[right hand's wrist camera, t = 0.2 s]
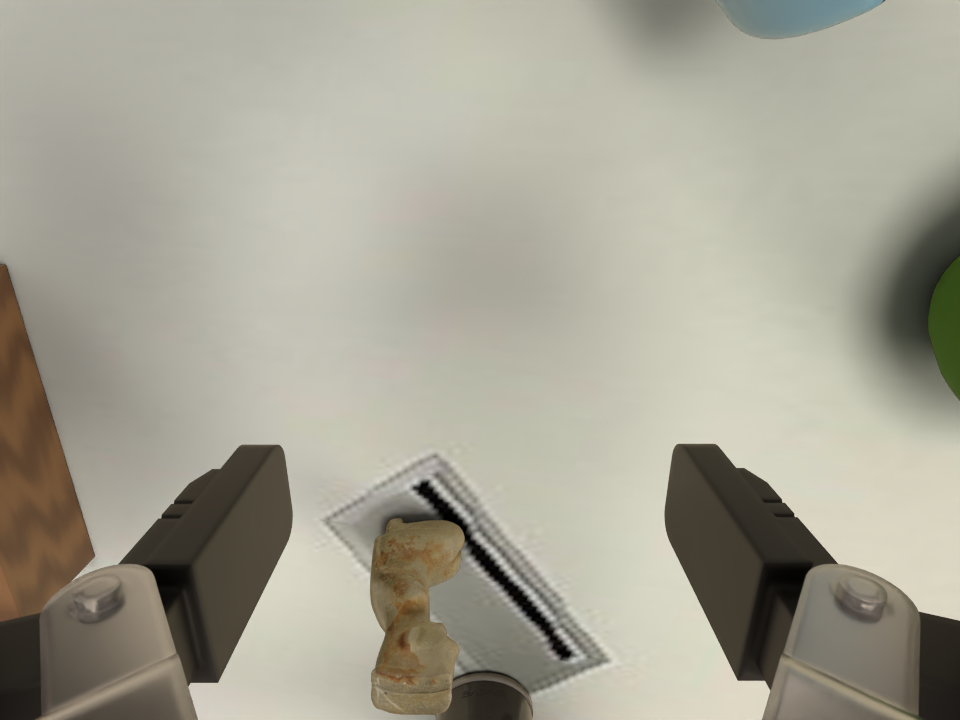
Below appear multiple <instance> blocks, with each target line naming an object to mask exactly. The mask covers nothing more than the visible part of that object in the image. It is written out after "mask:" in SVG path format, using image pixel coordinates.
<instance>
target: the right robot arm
mask: <svg viewBox="0 0 960 720" xmlns="http://www.w3.org/2000/svg"><path fill="white" fill-rule="evenodd" d="M292 517H293V514H292V504H291V497H290V490H289V482H288V475H287V468H286V461H285V455H284V451H283V449H282V447H281V446H280V445H241V446H239V447H238V448H237V449H236V451H235V452H234V453H233V454H232V456H231V457H230V458H229V459H228V460H227V462H226V463H225V464H224V465H223V466H222V468H221V469H212V470H210V471H209V472H207V473H206V474H204V475H202V476H201V477H199V478H198V479H196V480H194V481H193V482H191V483H190V484H189V485H188V486H187V487H186V488H185V489H184V490H183V491H182V493H181V494H180V495H179V496H178V497H177V498H176V499H175V501H174V504H171V505H170V506H169V507H168V508H167V510H166V511H165V512H164V513H163V514H162V518H161V519H158V520H157V521H156V522H155V523H154V524H153V525H152V527H151V528H150V529H149V530H148V531H147V532H146V533H145V535H144V536H143V537H142V538H141V539H140V540H139V541H138V543H137V544H136V545H135V546H134V547H133V548H132V549H131V550H130V552H129V553H128V554H127V555H126V556H125V557H124V558H123V560H122V561H121V562H120V563H119V564H118V565H113V566H108V567H104V568H101V569H98V570H95V571H92V572H90V573H87V574H85V575H83V576H81V577H79V578H77V579H75V580H74V581H72V582H70V583H69V584H67V585H66V586H64V587H63V588H62V589H60V590H59V591H58V592H57V593H56V594H54V595H53V596H52V597H51V599H50V600H49V601H48V602H47V603H46V605H45V606H44V608H43V610H42V612H41V613H37V614H33V615H28V616H24V617H19V618H15V619H10V620H6V621H1V622H0V720H198V718H197V715H196V712H195V708H194V705H193V701H192V698H191V695H190V691H189V688H188V686H189V684H190V683H218V682H219V680H220V677H221V675H222V673H223V671H224V669H225V667H226V665H227V663H228V661H229V659H230V657H231V655H232V653H233V651H234V649H235V647H236V645H237V643H238V641H239V639H240V637H241V635H242V633H243V631H244V629H245V627H246V625H247V623H248V621H249V619H250V617H251V615H252V613H253V611H254V609H255V607H256V605H257V603H258V601H259V599H260V597H261V595H262V593H263V591H264V589H265V587H266V585H267V583H268V581H269V579H270V577H271V575H272V573H273V571H274V568H275V566H276V564H277V562H278V560H279V558H280V556H281V554H282V552H283V550H284V548H285V546H286V544H287V542H288V540H289V537H290V533H291V528H292ZM665 526H666V531H667V535H668V538H669V541H670V543H671V545H672V547H673V549H674V551H675V553H676V555H677V557H678V559H679V561H680V563H681V565H682V567H683V569H684V572H685V574H686V576H687V578H688V580H689V582H690V584H691V586H692V588H693V590H694V592H695V594H696V596H697V598H698V600H699V602H700V604H701V606H702V608H703V610H704V612H705V614H706V616H707V619H708V621H709V623H710V625H711V627H712V629H713V631H714V633H715V635H716V637H717V639H718V641H719V643H720V645H721V647H722V649H723V651H724V653H725V655H726V657H727V659H728V661H729V663H730V666H731V668H732V670H733V672H734V674H735V676H736V678H737V680H738V681H766V683H767V685H768V687H769V689H770V695H769V698H768V701H767V705H766V708H765V712H764V715H763V718H762V720H960V621H958V620H953V619H949V618H944V617H940V616H935V615H931V614H926V613H922V612H918V610H917V608H916V606H915V605H914V603H913V602H912V601H911V600H910V599H909V597H908V596H907V595H906V594H904V593H903V592H902V591H901V590H900V589H898V588H897V587H896V586H894V585H893V584H891V583H890V582H888V581H886V580H885V579H883V578H881V577H879V576H877V575H875V574H873V573H870V572H868V571H865V570H862V569H859V568H856V567H852V566H847V565H841V564H838V563H837V562H836V561H835V560H834V559H833V558H832V556H831V555H830V554H829V553H828V552H827V551H826V549H825V548H824V547H823V546H822V545H821V544H820V543H819V541H818V540H817V539H816V538H815V537H814V536H813V535H812V533H811V532H810V531H809V530H808V529H807V528H806V527H805V525H804V524H803V523H802V522H801V521H800V520H799V519H798V517H794V513H793V512H792V511H791V509H790V508H789V507H788V506H787V505H786V504H785V503H782V499H781V498H780V497H779V496H778V494H777V493H776V492H775V491H774V490H773V489H772V488H771V486H770V485H769V484H768V483H767V482H765V481H764V480H762V479H761V478H759V477H757V476H756V475H754V474H753V473H751V472H749V471H748V470H746V469H745V468H736V467H735V466H734V465H733V464H732V462H731V461H730V460H729V459H728V457H727V456H726V455H725V454H724V453H723V451H722V450H721V449H720V448H719V447H718V446H717V445H716V444H677V445H676V446H675V448H674V450H673V454H672V461H671V468H670V475H669V482H668V490H667V497H666V504H665ZM451 693H452V699H451V703H450V705H449V707H448V709H447V710H446V711H445V712H443V713H439V714H435V717H436V720H532V717H533V710H532V701H531V698H530V696H529V694H528V692H527V691H526V690H525V688H524V687H523V686H522V685H520V684H519V683H518V682H516V681H515V680H513V679H511V678H509V677H506V676H503V675H500V674H495V673H474V674H469V675H465V676H462V677H460V678H457V679H455V680H454V681H452V688H451Z"/></svg>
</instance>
